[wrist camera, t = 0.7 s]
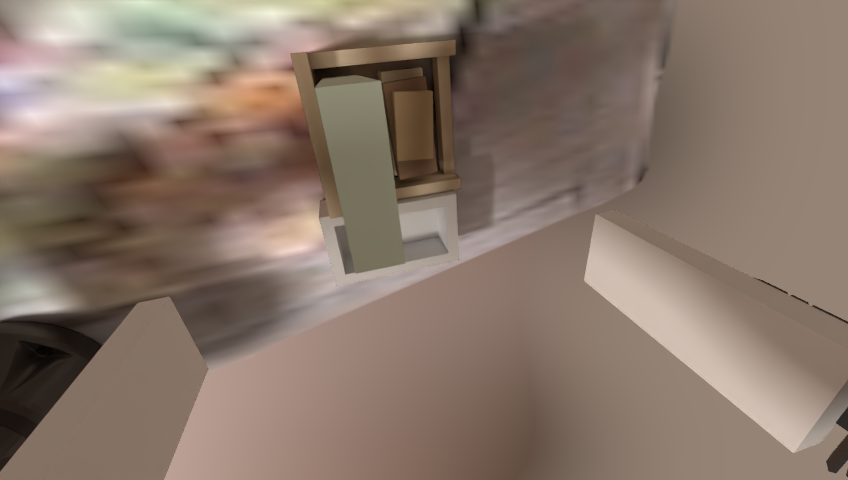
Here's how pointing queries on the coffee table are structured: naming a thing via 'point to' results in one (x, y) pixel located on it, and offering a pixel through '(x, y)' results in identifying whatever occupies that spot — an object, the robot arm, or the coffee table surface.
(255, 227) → the coffee table surface
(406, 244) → the bin
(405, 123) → the offcut oak
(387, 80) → the offcut birch
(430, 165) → the offcut walnut
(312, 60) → the rack
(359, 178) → the grey-green flat block
